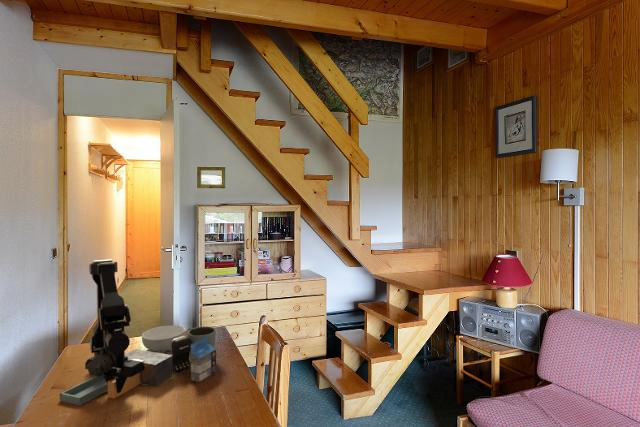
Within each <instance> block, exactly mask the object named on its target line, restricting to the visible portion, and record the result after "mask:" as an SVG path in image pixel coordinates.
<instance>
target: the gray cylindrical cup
mask: <svg viewBox="0 0 640 427" xmlns="http://www.w3.org/2000/svg"><path fill="white" fill-rule="evenodd" d="M187 337H188V338H190V340H191V344H193V343H195V342H197V341H200V340H202V339H204V338H206V337H208V344H209V345H210V346H212V347H213V348H215V347H216V346H215V345H216V328H215V327H213V326H203V325H202V326H197V327H192V328H191V329H189V330H188V331H187ZM200 345H202V343H201V344H200V343H199V345H197V347H198V346H200ZM189 360H190V365H191V351H190V354H189Z"/></svg>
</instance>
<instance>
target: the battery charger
mask: <svg viewBox="0 0 640 427" xmlns="http://www.w3.org/2000/svg"><path fill="white" fill-rule="evenodd" d="M190 351H191V340H190V338H188V335H187V336H186V335H185V336H182V337H178V338H175V339H173V340H172V341H171V343H170V351H169V355H173V357H172V373H173V372H175V373H178V372H182V371H184V370H186V369H189V368H191V364H190V355H189V354H190Z"/></svg>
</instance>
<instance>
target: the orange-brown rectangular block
mask: <svg viewBox="0 0 640 427" xmlns="http://www.w3.org/2000/svg"><path fill="white" fill-rule="evenodd" d="M140 384H141V372H140V373H138V374H136V375H134V376H132V377H127V379H126V382H125V384H124V386H123V388H122V390H121V392H120V393H117V389H116V378H113V379H111V380H109V381H108V391H107V397H108V398H110V399H116V398H117V397H120V396H121V395H123V394H125V393H126V392H128V391H129V390H132V389H133V388H135V387H137V386H139V385H140Z"/></svg>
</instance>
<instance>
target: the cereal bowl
mask: <svg viewBox="0 0 640 427" xmlns="http://www.w3.org/2000/svg"><path fill="white" fill-rule="evenodd" d="M186 335H187V334H186V328H185V327H184V326H182V325H162V326H157V327H153V328H150V329H147V330H145V331H144V332H143V333H142V334H141V342H142V345H143V346H144V348H146V349H148V350H149V351H151V352H156V353H167V352H170V343H171V341H172V340H173V339H175V338H178V337H182V336H186Z"/></svg>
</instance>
